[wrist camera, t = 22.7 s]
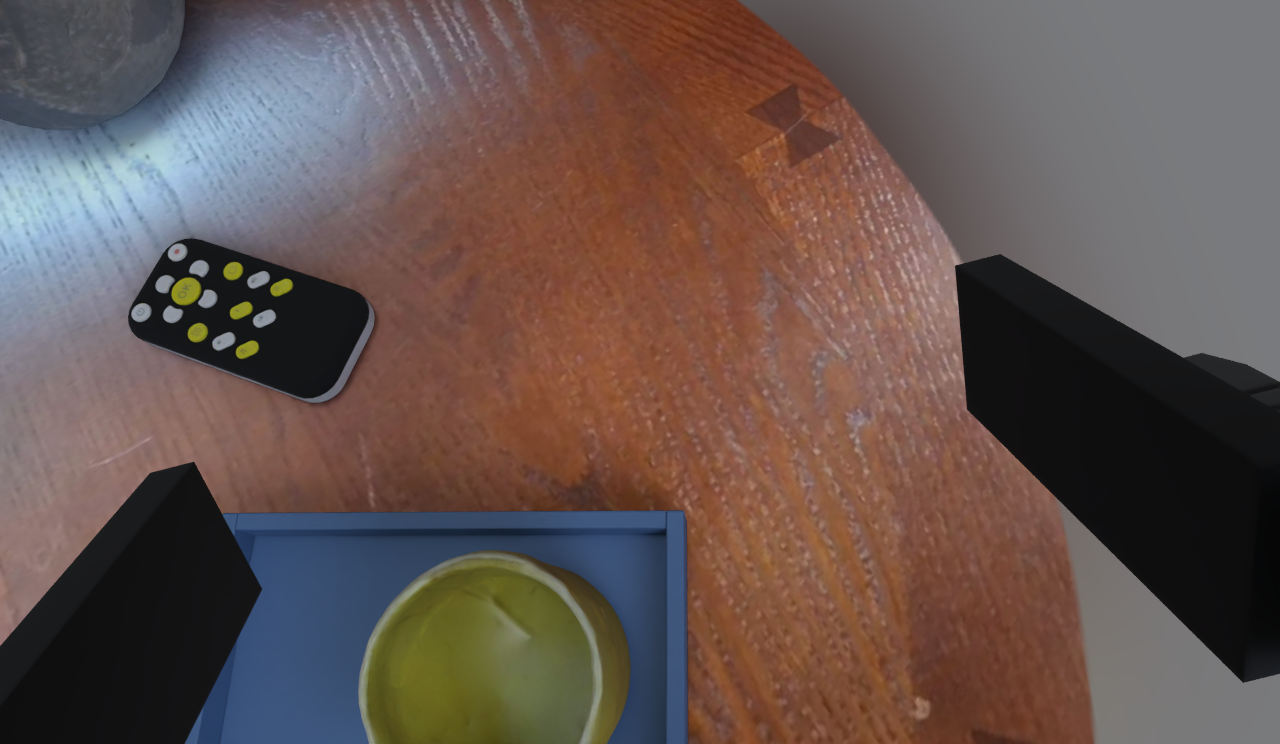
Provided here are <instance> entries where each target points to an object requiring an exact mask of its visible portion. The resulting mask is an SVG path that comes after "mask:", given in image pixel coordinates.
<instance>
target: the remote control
mask: <svg viewBox="0 0 1280 744" xmlns="http://www.w3.org/2000/svg"><path fill="white" fill-rule="evenodd" d="M128 321H129V326H130V328H131V330H132V332H133V333H134V334H135V335H136V336H137V337H138V338H140V339H141V340H143V341H145V342H147V343H149V344H150V345H153V346H156V347H158V348H161V349H164V350H167V351H169V352H172V353H175V354H178V355H180V356H183V357H186V358H188V359H191V360H194V361H197V362H199V363H202V364H205V365H208V366H210V367H213V368H216V369H218V370H221V371H224V372H227V373H229V374H232V375H235V376H238V377H240V378H243V379H246V380H249V381H251V382H254V383H257V384H259V385H262V386H265V387H268V388H270V389H273V390H276V391H279V392H281V393H284V394H287V395H289V396H292V397H295V398H298V399H300V400H303V401H306V402H311V403H318V402H323V401H327V400H329V399H331V398H333V397H334V396H336V395H337V394H338V393H339V392H340V391H341V389H342V388H343V386H344V385H345V383H346V381H347V379H348V377H349V375H350V373H351V371H352V369H353V367H354V365H355V364H356V362H357V360H358V358H359V356H360V354H361V352H362V350H363V348H364V346H365V344H366V342H367V340H368V338H369V336H370V334H371V332H372V329H373V327H374V321H375V316H374V311H373V309H372V307H371V305H370V303H369V302H368V301H367V300H366V299H365V298H364V297H363V296H362V295H361V294H360V293H358V292H356V291H354V290H352V289H349V288H346V287H343V286H340V285H337V284H334V283H331V282H328V281H324V280H321V279H318V278H315V277H312V276H309V275H306V274H303V273H300V272H297V271H294V270H291V269H288V268H285V267H282V266H279V265H276V264H273V263H270V262H267V261H264V260H261V259H258V258H254V257H251V256H248V255H245V254H242V253H239V252H236V251H233V250H230V249H227V248H224V247H221V246H218V245H215V244H212V243H209V242H206V241H203V240H199V239H193V238H190V239H183V240H180V241H177V242H176V243H174V244H172V245H171V246H170V247H168V248H167V249H166V251H165V252H164V253H163V254H162V256H161V258H160V259H159V261H158V263H157V264H156V266H155V268H154V269H153V271H152V273H151V274H150V276H149V278H148V279H147V281H146V282H145V284H144V286H143V287H142V289H141V291H140V292H139V294H138V296H137V297H136V299H135V301H134V302H133V304H132V306H131V308H130V311H129V316H128Z"/></svg>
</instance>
